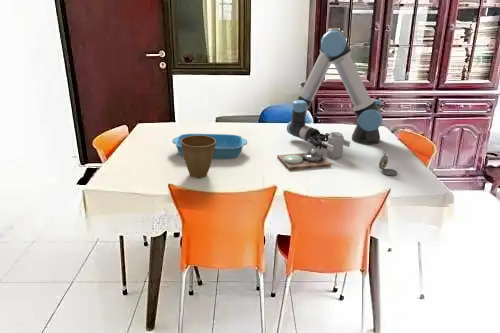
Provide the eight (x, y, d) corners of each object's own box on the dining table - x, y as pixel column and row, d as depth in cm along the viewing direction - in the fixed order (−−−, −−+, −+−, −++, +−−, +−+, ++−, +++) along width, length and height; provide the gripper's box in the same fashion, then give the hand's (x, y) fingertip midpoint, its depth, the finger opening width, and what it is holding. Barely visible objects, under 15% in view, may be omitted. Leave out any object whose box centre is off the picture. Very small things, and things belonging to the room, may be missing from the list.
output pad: (298, 156, 210) (298, 154, 210) (305, 163, 202) (305, 161, 202) (280, 157, 208) (280, 155, 207) (287, 164, 200) (287, 162, 199)
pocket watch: (397, 176, 193) (401, 156, 190) (378, 175, 195) (381, 154, 191) (395, 170, 201) (399, 149, 197) (377, 168, 202) (380, 148, 199)
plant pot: (187, 183, 181) (186, 147, 175) (178, 170, 194) (176, 137, 188) (220, 178, 187) (220, 143, 181) (209, 166, 199) (209, 133, 193)
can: (324, 154, 218) (326, 131, 214) (339, 153, 219) (341, 131, 214) (328, 159, 211) (330, 136, 207) (343, 159, 212) (346, 136, 208)
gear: (318, 154, 214) (318, 145, 212) (327, 161, 204) (328, 152, 203) (298, 155, 211) (298, 146, 209) (306, 163, 202) (307, 154, 200)
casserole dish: (246, 146, 227) (246, 133, 225) (248, 161, 207) (248, 147, 204) (175, 145, 225) (175, 132, 223) (170, 161, 205) (169, 147, 202)
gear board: (316, 154, 217) (317, 152, 216) (330, 166, 203) (331, 163, 202) (277, 158, 211) (277, 155, 211) (288, 170, 197) (288, 167, 197)
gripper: (325, 137, 234) (356, 149, 218) (292, 145, 221) (323, 158, 205) (326, 124, 231) (358, 135, 215) (293, 131, 218) (324, 143, 202)
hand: (341, 146), depth 210 cm, fingers open, 11 cm apart
